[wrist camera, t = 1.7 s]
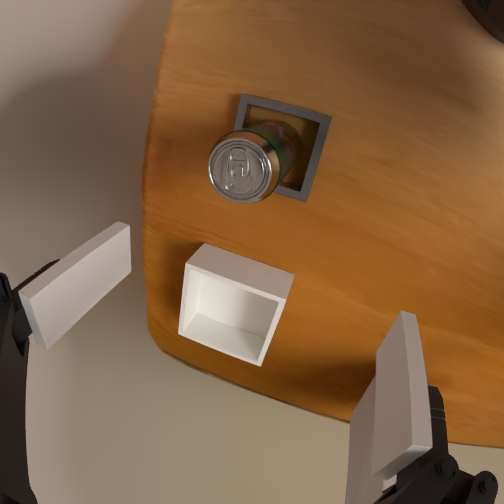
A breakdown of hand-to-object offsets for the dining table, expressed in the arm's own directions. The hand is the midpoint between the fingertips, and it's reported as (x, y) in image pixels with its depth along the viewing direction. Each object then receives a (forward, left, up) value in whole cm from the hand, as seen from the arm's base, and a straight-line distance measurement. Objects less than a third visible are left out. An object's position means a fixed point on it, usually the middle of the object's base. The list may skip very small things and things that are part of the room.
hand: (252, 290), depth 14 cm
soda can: (-3, -4, -20) cm, 20 cm away
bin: (+16, -4, -20) cm, 26 cm away
